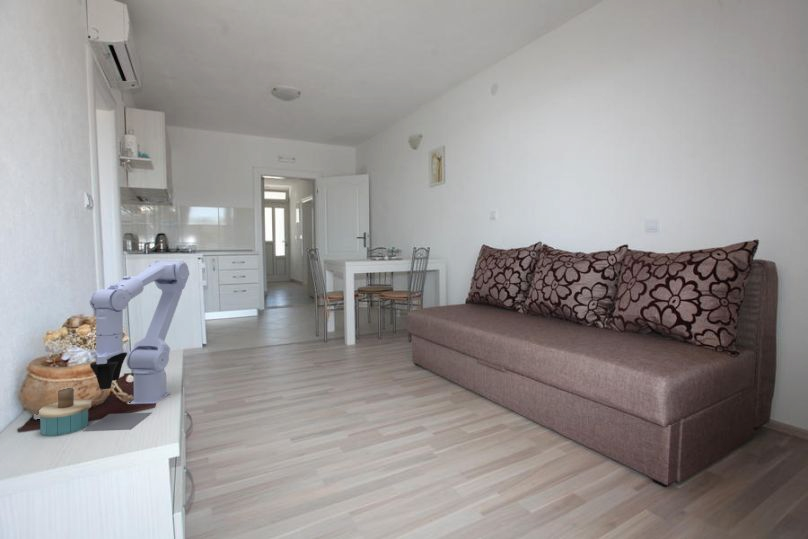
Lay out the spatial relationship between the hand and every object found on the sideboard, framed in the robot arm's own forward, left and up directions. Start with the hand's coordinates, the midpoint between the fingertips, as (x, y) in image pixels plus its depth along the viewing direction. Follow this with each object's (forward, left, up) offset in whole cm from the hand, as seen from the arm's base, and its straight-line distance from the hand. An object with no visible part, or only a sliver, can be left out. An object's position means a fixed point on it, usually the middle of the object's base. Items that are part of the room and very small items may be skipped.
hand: (109, 384), depth 106 cm
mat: (+3, +4, -9) cm, 11 cm away
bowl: (+6, -7, -9) cm, 13 cm away
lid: (+6, -7, -4) cm, 10 cm away
